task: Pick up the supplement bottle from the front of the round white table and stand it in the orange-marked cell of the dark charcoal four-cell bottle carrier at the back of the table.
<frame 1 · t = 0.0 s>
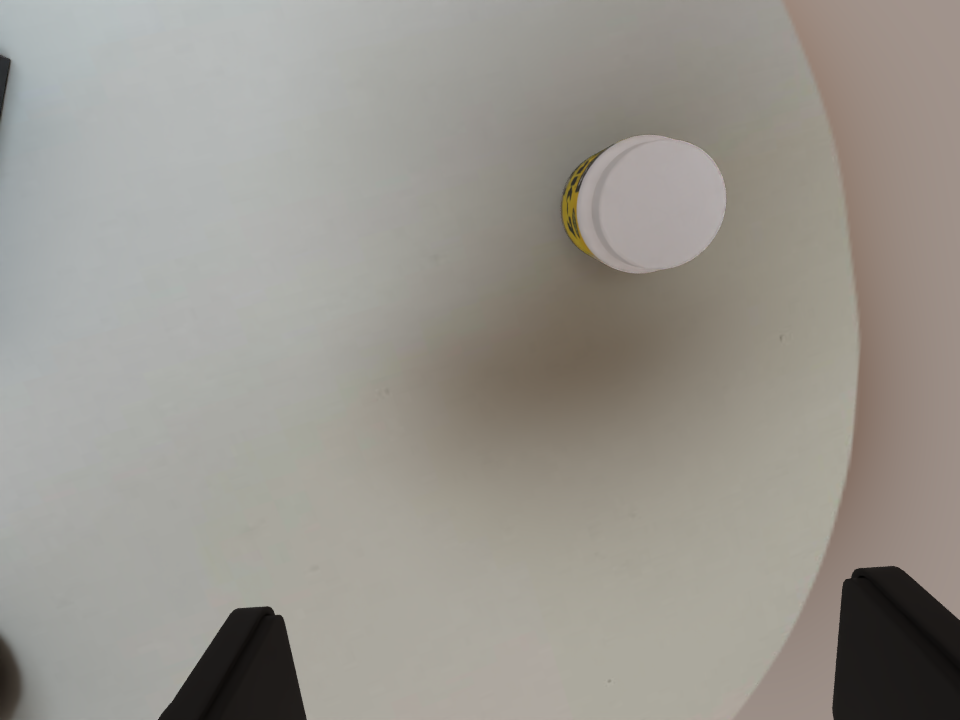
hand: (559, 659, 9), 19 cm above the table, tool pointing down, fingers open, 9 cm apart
supplement bottle: (609, 206, 25), on the table
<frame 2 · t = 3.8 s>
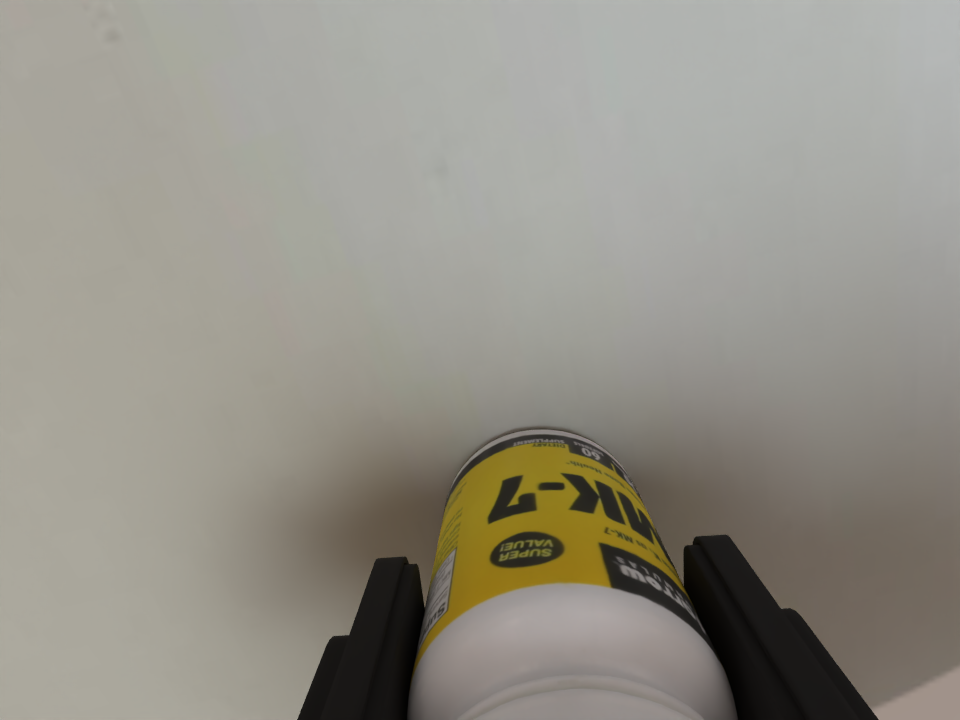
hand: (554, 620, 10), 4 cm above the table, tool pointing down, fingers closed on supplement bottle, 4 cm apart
supplement bottle: (539, 507, 14), on the table, touching gripper
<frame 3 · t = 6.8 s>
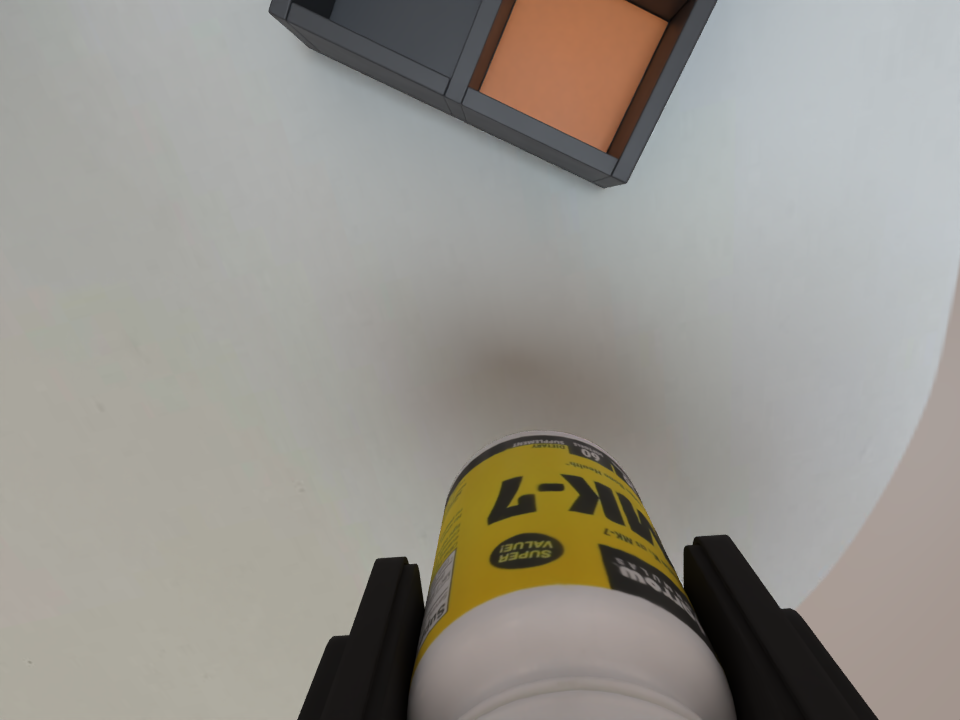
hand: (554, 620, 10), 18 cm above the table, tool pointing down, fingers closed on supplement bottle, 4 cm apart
supplement bottle: (538, 507, 14), point 14 cm above the table, touching gripper
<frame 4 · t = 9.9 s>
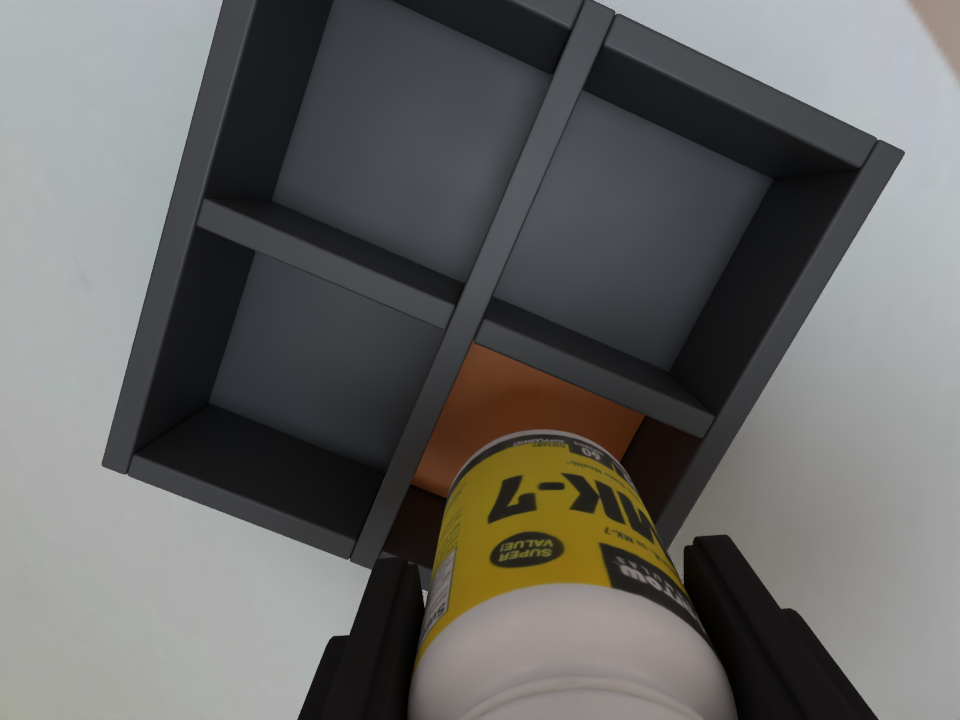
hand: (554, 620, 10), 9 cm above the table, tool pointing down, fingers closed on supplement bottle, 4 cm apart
carrier: (472, 296, 18), on the table
supplement bottle: (539, 507, 14), point 5 cm above the table, touching gripper
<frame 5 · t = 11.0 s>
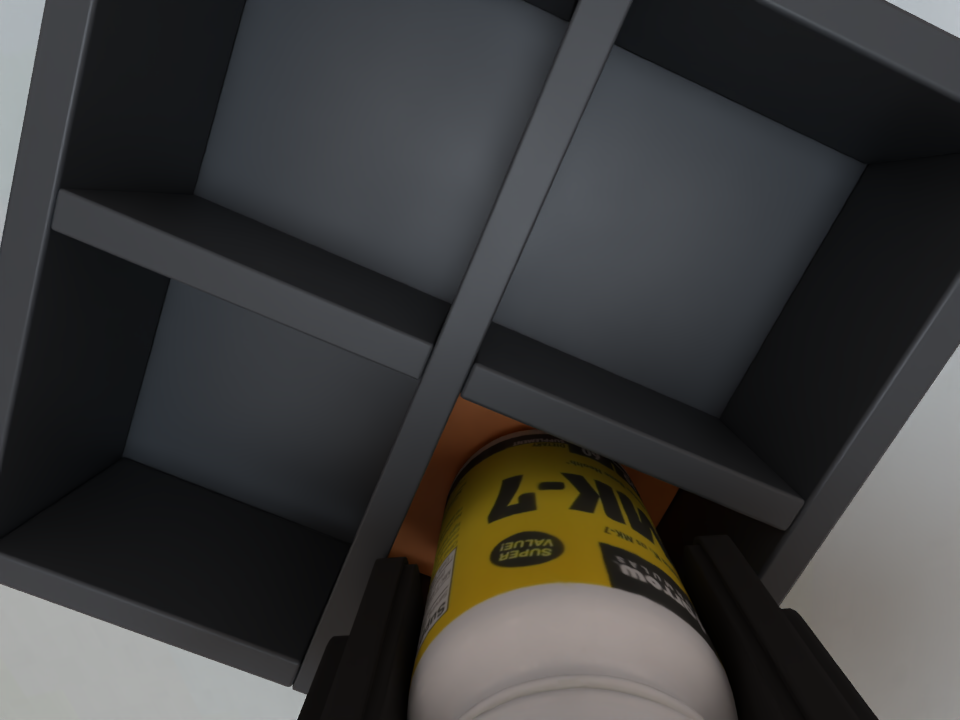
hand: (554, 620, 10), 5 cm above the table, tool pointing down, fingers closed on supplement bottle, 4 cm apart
carrier: (462, 319, 13), on the table
supplement bottle: (539, 506, 14), point 1 cm above the table, touching gripper
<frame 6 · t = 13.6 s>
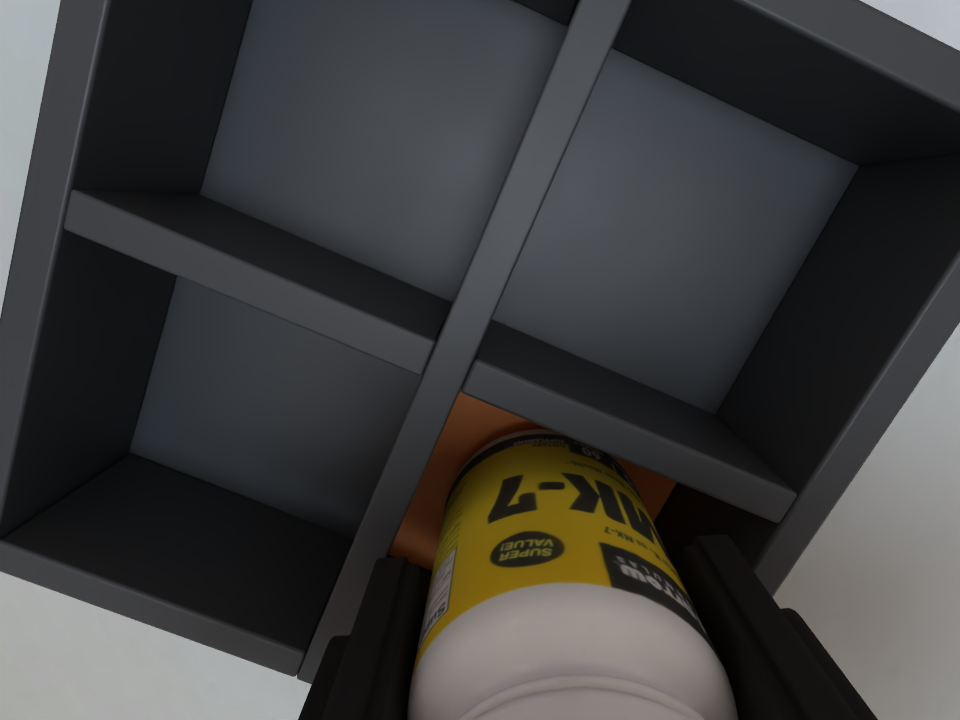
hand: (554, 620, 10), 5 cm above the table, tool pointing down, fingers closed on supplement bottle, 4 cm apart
carrier: (463, 317, 14), on the table
supplement bottle: (539, 506, 14), point 1 cm above the table, touching gripper
when the fingers open (5 cm above the table, at t = 15.9 s): supplement bottle stays where it is, resting on carrier.
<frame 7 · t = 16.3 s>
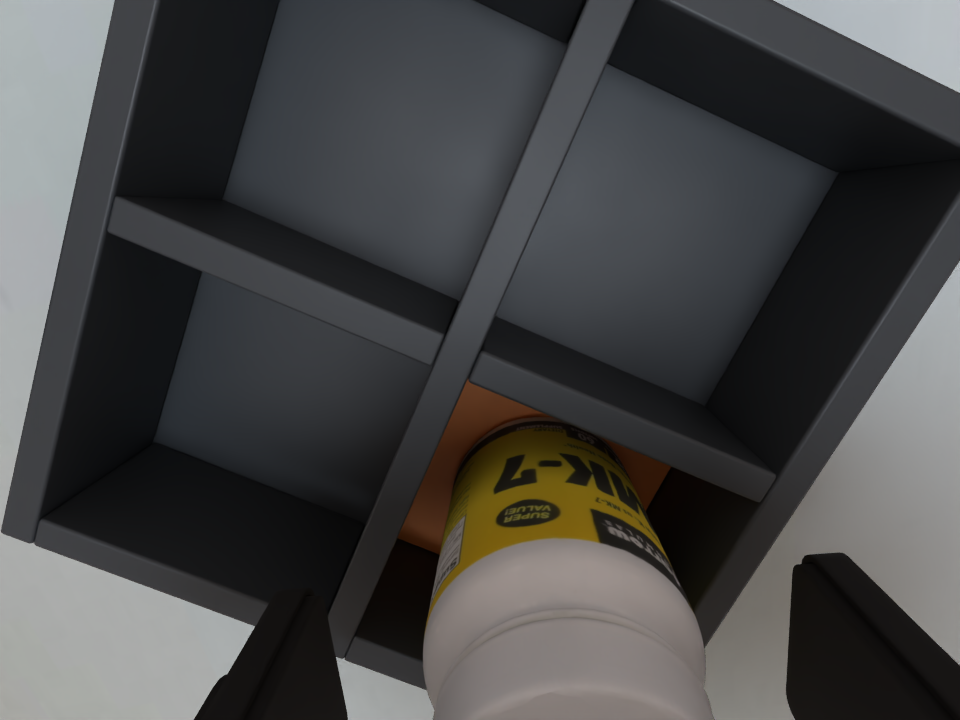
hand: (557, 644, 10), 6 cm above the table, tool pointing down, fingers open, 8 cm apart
carrier: (468, 314, 15), on the table
supplement bottle: (538, 488, 15), point 1 cm above the table, touching carrier
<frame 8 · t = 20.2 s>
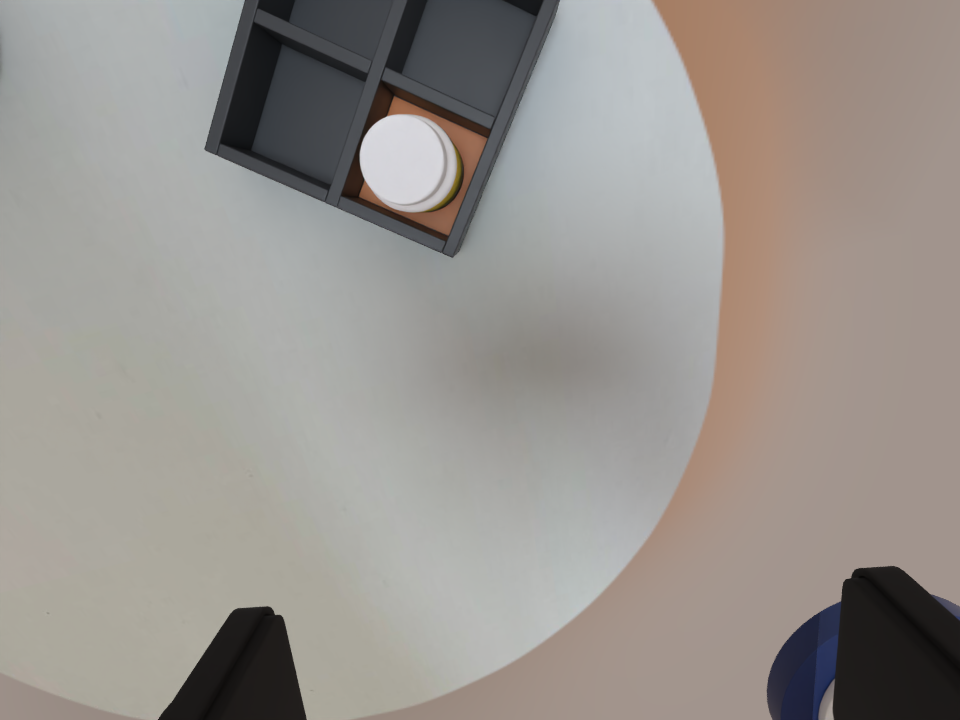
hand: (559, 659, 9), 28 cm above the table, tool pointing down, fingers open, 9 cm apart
carrier: (392, 88, 33), on the table
supplement bottle: (425, 172, 34), point 1 cm above the table, touching carrier
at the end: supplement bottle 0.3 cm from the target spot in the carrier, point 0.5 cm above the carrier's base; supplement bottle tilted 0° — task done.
